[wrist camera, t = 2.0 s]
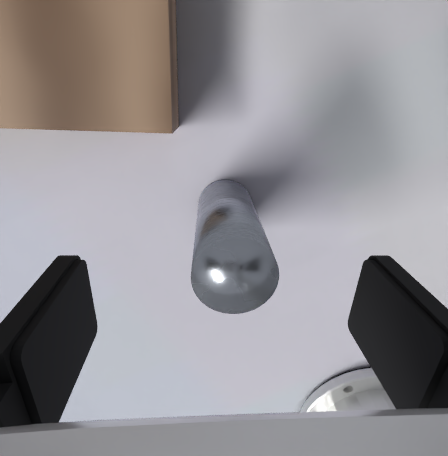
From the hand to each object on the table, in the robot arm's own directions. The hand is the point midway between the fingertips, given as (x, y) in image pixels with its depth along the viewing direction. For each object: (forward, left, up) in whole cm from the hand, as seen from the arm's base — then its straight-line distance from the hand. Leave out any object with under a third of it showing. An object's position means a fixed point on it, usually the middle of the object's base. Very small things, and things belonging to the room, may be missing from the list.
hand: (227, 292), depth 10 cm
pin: (0, +1, -11) cm, 11 cm away
